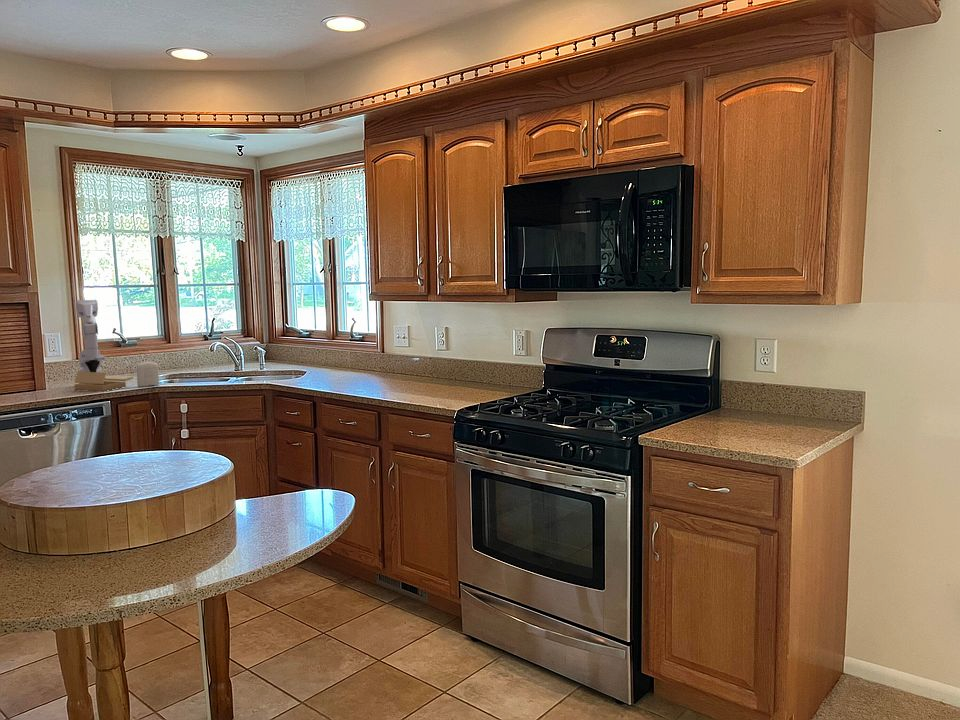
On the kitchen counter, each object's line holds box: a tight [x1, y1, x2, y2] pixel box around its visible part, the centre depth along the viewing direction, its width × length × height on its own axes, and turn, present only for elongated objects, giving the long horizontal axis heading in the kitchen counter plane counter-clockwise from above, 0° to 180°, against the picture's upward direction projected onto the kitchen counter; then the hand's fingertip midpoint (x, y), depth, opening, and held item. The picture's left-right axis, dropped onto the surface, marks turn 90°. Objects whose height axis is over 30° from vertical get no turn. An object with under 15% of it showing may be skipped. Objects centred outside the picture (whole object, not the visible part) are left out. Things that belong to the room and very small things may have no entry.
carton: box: [73, 380, 127, 392], centre depth 366 cm, size 18×14×3 cm
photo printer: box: [136, 361, 160, 387], centre depth 376 cm, size 10×4×12 cm, turn 123°
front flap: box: [74, 371, 108, 384], centre depth 360 cm, size 17×6×1 cm
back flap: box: [104, 374, 134, 382], centre depth 375 cm, size 17×6×1 cm, turn 71°
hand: (93, 375), depth 361 cm, fingers closed, pressing on front flap
